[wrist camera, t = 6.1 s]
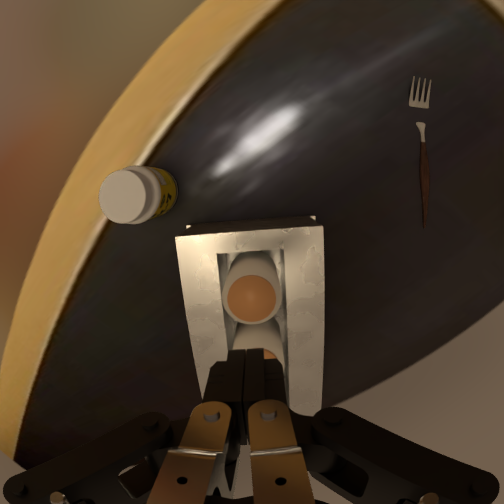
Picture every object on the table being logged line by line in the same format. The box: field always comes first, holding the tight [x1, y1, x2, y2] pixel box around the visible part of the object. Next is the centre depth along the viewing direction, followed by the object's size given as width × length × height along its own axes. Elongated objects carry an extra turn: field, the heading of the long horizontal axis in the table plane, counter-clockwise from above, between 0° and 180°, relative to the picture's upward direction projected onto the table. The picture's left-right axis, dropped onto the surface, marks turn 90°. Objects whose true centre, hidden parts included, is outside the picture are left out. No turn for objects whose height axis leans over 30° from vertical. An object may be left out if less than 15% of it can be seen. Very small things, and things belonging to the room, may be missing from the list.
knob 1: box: [222, 251, 282, 325], centre depth 23 cm, size 4×4×6 cm
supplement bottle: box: [99, 166, 178, 224], centre depth 25 cm, size 5×5×8 cm
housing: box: [175, 215, 324, 416], centre depth 28 cm, size 12×19×7 cm, turn 4°
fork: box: [409, 76, 431, 228], centre depth 27 cm, size 3×16×2 cm, turn 3°
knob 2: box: [232, 317, 285, 371], centre depth 25 cm, size 4×4×6 cm
